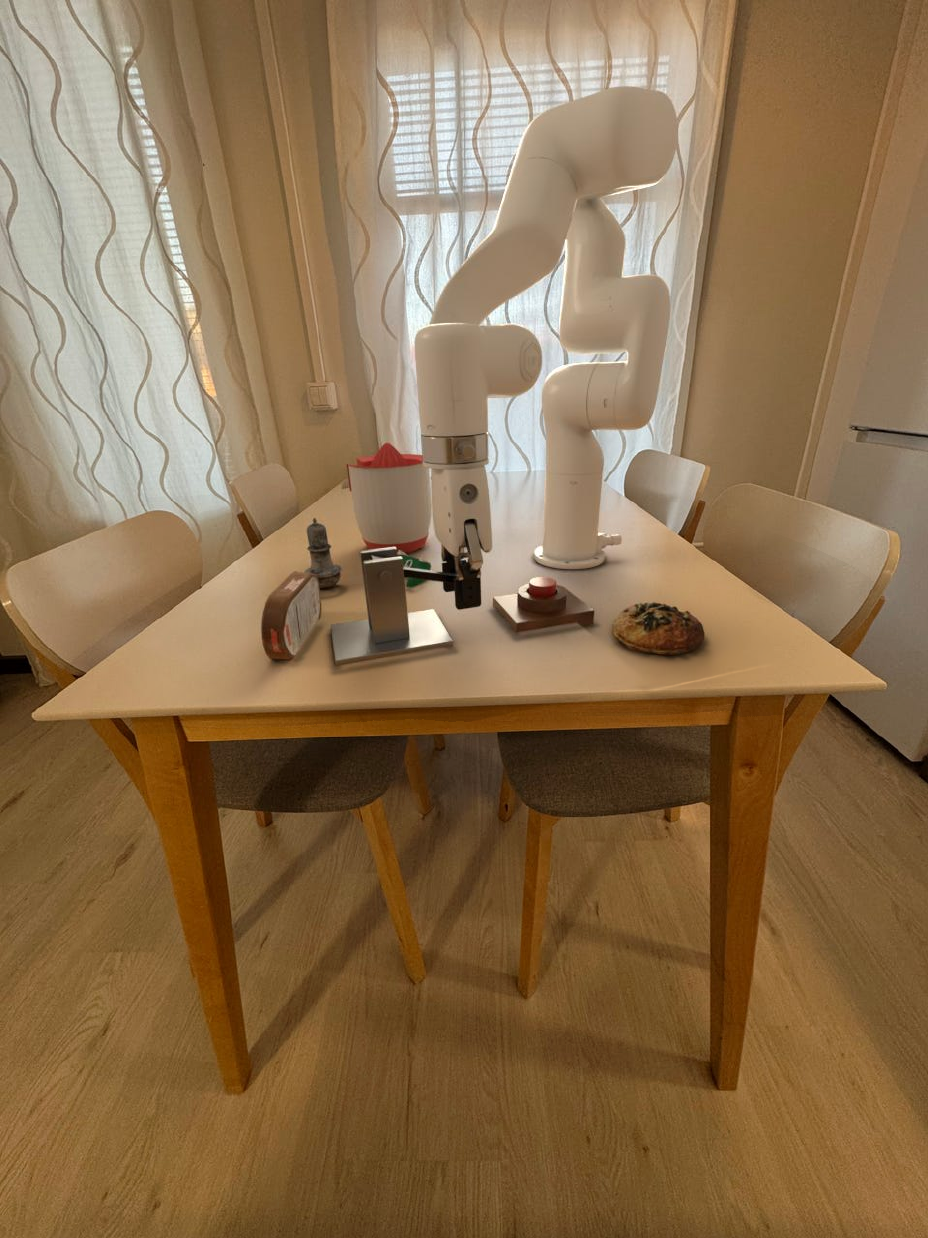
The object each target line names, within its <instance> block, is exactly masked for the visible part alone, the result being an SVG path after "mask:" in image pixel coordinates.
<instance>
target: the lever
mask: <svg viewBox="0 0 928 1238" xmlns="http://www.w3.org/2000/svg"><path fill="white" fill-rule="evenodd" d="M384 558H387V557H380V556H373V555H371V558H370V560H375V559H384ZM403 568H404V578H406V577H408V578H416V579H423V580H424V581H433V582H439V583H443V582H447V583H454V578H457V575H456V568H453V569H452V570H451V571H450V573H446V572H442V571H439V570H438V571H437V570H431V569H430V570H424V569H417V568H409V567H403ZM408 578H407V579H408Z"/></svg>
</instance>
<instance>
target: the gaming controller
mask: <svg viewBox="0 0 928 1238" xmlns="http://www.w3.org/2000/svg"><path fill="white" fill-rule="evenodd" d="M397 556H398V557H400V556H401V557H402V559H403V567H409V568H417V569H424V570H431V569H432V564H431V562H430V561H429V560H428V559H427V558H426V557H423V556H422V555H420V557H419V558H417V557H414V556H410V555H408V553H404V552H402V551H401V550H398V553H397ZM405 579H407V581H406V583H405V587H412V588H413V587H415V586H416V587H417V586H418V585H420V584H421V583H423V582H424V581H425V580H423V579H416V578H408V577H405Z"/></svg>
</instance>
